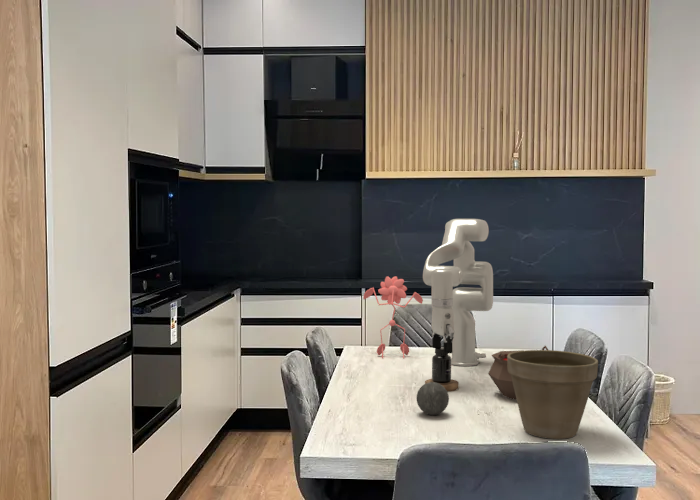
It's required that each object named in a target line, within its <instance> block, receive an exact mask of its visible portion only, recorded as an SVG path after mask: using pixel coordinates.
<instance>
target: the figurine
mask: <svg viewBox="0 0 700 500" xmlns="http://www.w3.org/2000/svg"><path fill="white" fill-rule="evenodd" d="M404 283H405V280H404V279H403V278H398V276H393V277H392V278H391V277H389V275H388V276H385V278H384V281H381V282H380V288H379V289H377V290H378V294H380V295H381V296H380V299H381V300H382V301H387V302H386V303H380V302H379V299H378V297H377V294H376V291H375V288H374V287H370V288H369V289H367V290H366V291H365V292H364V294H363V300H367V299H369V298H370V297H371V296H373V294H374V297H375V300H376V302H377V304H378V306H386V305H391V306H392V307H393V309H394V310H393V313H392V317H391V319H390V320H389V322H388V324H387V325H385V326H384V327H382V328H380V341H381V342H380V343H381V344H380V345H378V347H377V349H376V354H377V355H378V356H380V355H381V358H382V359H384V352H385V349H386V344H385V343H383V337H382V336H383V335H382V330H384V329H385V328H387V327H388V326H390V327H394V326H397V327H398V328H401V329H403V330H404V331H403V343H401V344H400V346H399V349H400V352H402V358H403V359H405V355H406V356H408V355H409V353H410V347H409V345H407V344H406V343H405V339H406V338H405V337H406V328H404V327H402V326H401V325H399V324H398V323H396V321H395V319H394V316H395V312H396V307H395V306H398V307H401V308H403V309H404V308H406V307H407V305H408V304H409V303H410V302H411V300H412V299H413V298H414V299H415V301H417V302H418V303H419V304H421V305H422V304H423V301H424V299H423V297H422V296H421V295H420V293H417V292H416V291H414V292H413V294H412V296H411V297H410V298H409V300H408V301H407V302H406V303H405V305H401V304H400V303H401V300H402V299H406V298H407V294H406V291H407V290H408V288H407V286H406V285H404Z"/></svg>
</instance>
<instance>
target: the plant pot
mask: <svg viewBox="0 0 700 500" xmlns="http://www.w3.org/2000/svg"><path fill="white" fill-rule="evenodd" d="M516 351H517V352H512V353H509V354H508V355H507V366H508V373H509V374H511V377H512V382H513V386H514V390H515V395H516V399H517V400H516V403H517V406H518V411H519V414H520V415H519V416H520V419H521V423H522V427H523V429H524V431H525V432H526V433H527V434H529V435H531V436H535V437H538V438H543V439H551V440H552V439H553V440H564V439H565V440H566V439H571V438H573V437H575V436H577V433H578V431H579V427H580V425H581V421H582V419H583V416H584V413H585V410H586V406H587V404H588V399H589V396H590V393H591V389H592V387H593V383H594V381H595V380H596V379H597V377H598V368H599V360H598V359H597V358H595V357H593V356H590V355H587V354H584V353H578V352H573V351H564V350H554V349H551V350H550V349H548V350H546V349H544V350H542V349H529V350H524V351H519V350H516Z"/></svg>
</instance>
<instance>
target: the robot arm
mask: <svg viewBox="0 0 700 500" xmlns="http://www.w3.org/2000/svg"><path fill="white" fill-rule="evenodd" d="M444 229H445V230H444V234H443V238H442V243H441V245H440V246H439V247H436V249H434V250H433V251H432V252H430V253H429V255H428V256H427V258H426V260H425V262H424V266H423V271H422V281H423V283H424V284H425V285H427V286H429V287H431V310H432V313H431V323H430V326H431V333H432V334H431V337H432V341H431V343H432V345H431V346H432V349H435V348H437V347H442V338H443V340H444V342H443V347H444V354H448V353H449V354H451V366H452V365H453V366H459V367H470V366H477V365H479V363H480V360H479V359H485V358H487V354H486V353H480V352H476V320H475V318H474V316H473V315H472V313H471V312H488V311H490V310H492V308H493V305H494V271H493V266H492V264H491V263H489V262H488V261H476V260H475V248H474V246H473V244H472V243H471V242H486V240H487V239H488V237H489V233H490V231H489V224H488V222H487V221H486V220H485V219H484V220H483V219H480V218H453V219H450V220H449V221H447V222H446V223H445V226H444ZM451 261H453V265H442V264H445V263H447V262H451ZM459 285H476V286H477V285H479V286H480V287H467V286H466V287H458V286H459ZM455 287H456V288H455ZM449 354H448V355H449Z"/></svg>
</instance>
